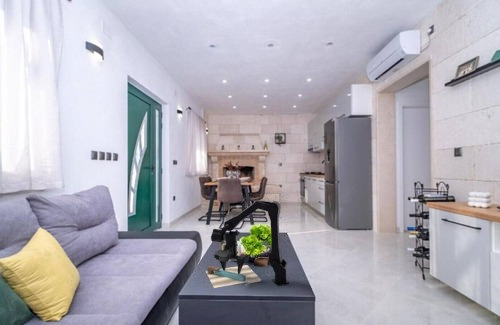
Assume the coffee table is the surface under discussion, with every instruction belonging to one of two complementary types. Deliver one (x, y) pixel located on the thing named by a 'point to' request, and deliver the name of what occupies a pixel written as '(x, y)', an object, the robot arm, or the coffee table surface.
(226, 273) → the link bar
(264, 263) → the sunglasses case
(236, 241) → the coffee box
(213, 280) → the base board
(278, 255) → the robot arm
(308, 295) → the coffee table surface
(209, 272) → the keeper
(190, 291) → the coffee table surface
